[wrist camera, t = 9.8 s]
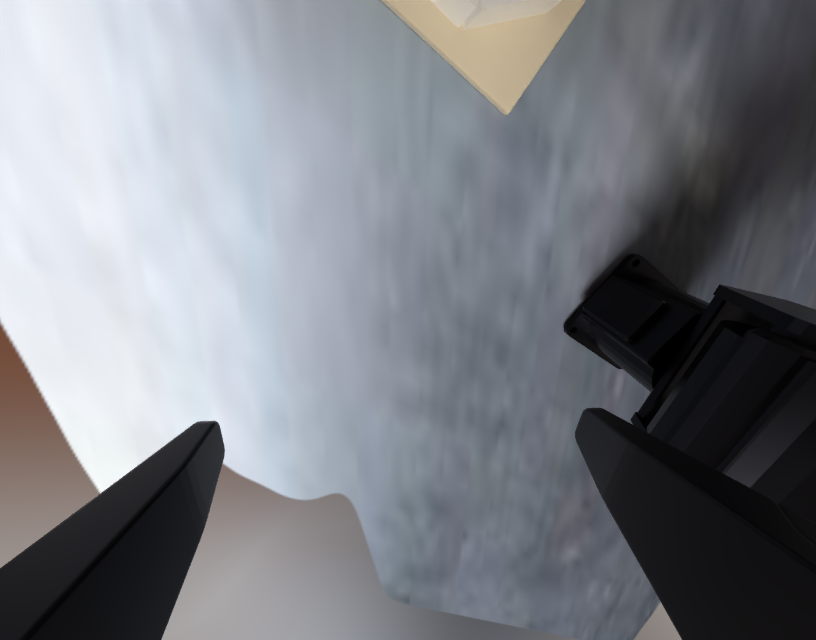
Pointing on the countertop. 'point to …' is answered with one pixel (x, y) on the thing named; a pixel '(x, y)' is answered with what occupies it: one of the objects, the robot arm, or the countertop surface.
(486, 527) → the countertop surface
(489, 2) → the socket
